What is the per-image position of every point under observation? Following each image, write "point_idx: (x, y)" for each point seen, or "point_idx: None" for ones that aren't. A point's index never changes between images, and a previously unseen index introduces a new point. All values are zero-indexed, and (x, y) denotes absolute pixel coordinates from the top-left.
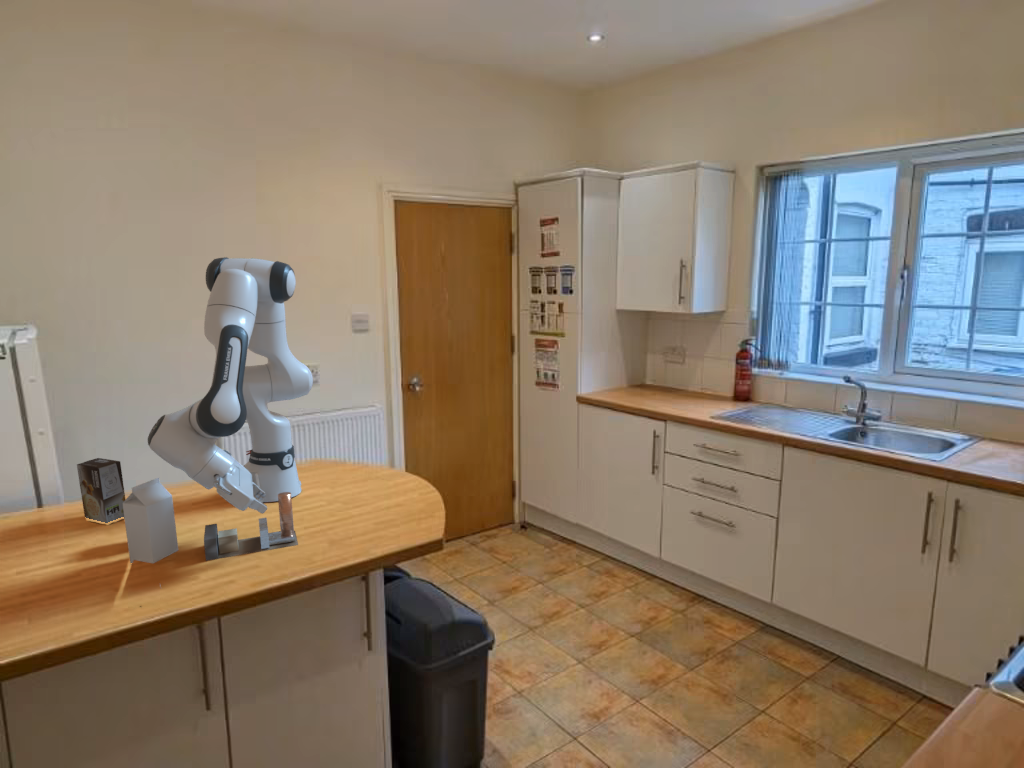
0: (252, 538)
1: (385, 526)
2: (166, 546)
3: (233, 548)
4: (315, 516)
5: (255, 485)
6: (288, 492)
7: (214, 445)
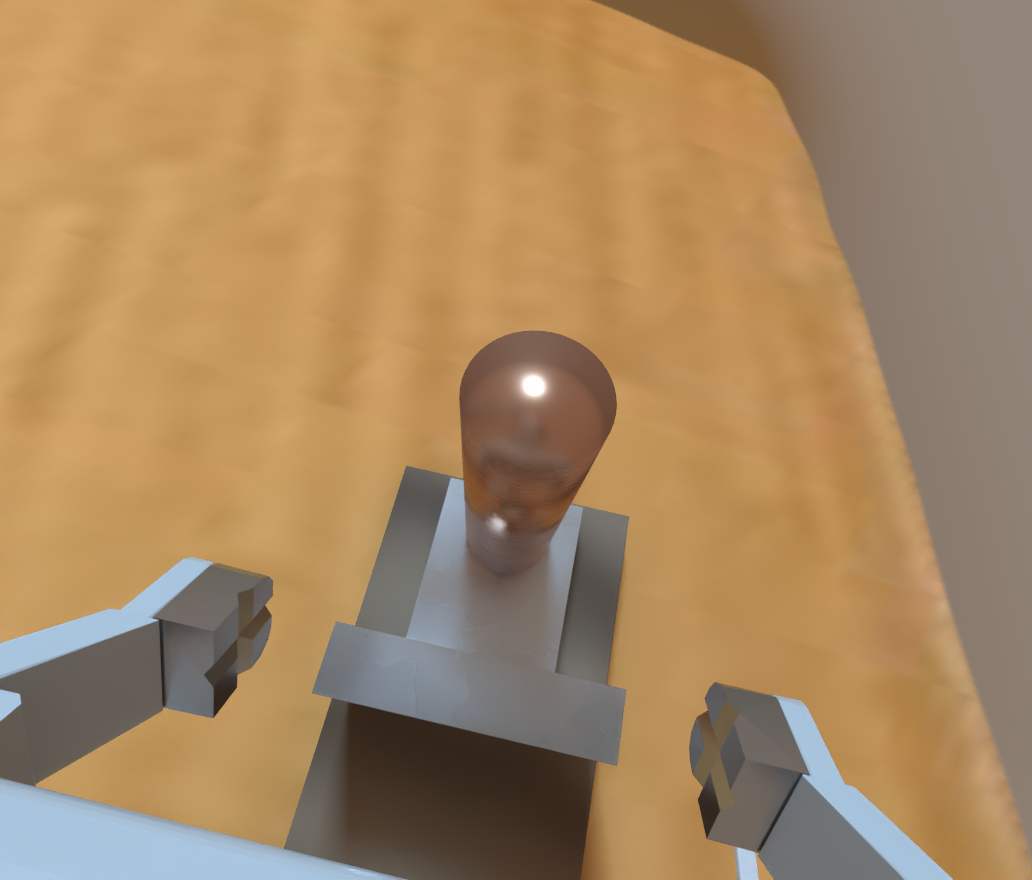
0: (333, 750)
1: (575, 144)
2: None
3: None
4: (217, 307)
5: (19, 675)
6: (504, 344)
7: None
